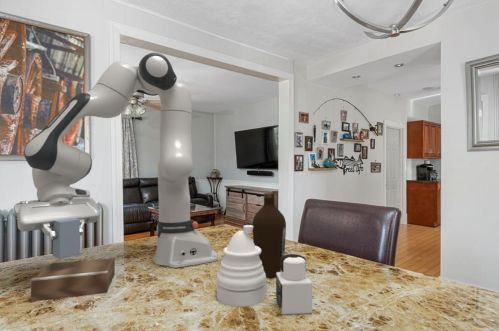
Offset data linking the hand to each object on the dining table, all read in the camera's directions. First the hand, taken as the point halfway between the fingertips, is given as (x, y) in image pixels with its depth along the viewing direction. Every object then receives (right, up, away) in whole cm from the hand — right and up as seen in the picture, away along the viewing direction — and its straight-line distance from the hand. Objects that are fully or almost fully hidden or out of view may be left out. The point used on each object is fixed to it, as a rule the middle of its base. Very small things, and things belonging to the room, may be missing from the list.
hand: (67, 236), depth 81 cm
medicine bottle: (+62, -14, -13) cm, 64 cm away
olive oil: (+58, -14, +10) cm, 60 cm away
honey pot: (+49, -14, -6) cm, 51 cm away
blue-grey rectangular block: (0, -5, 0) cm, 5 cm away
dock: (+3, -14, -1) cm, 14 cm away
